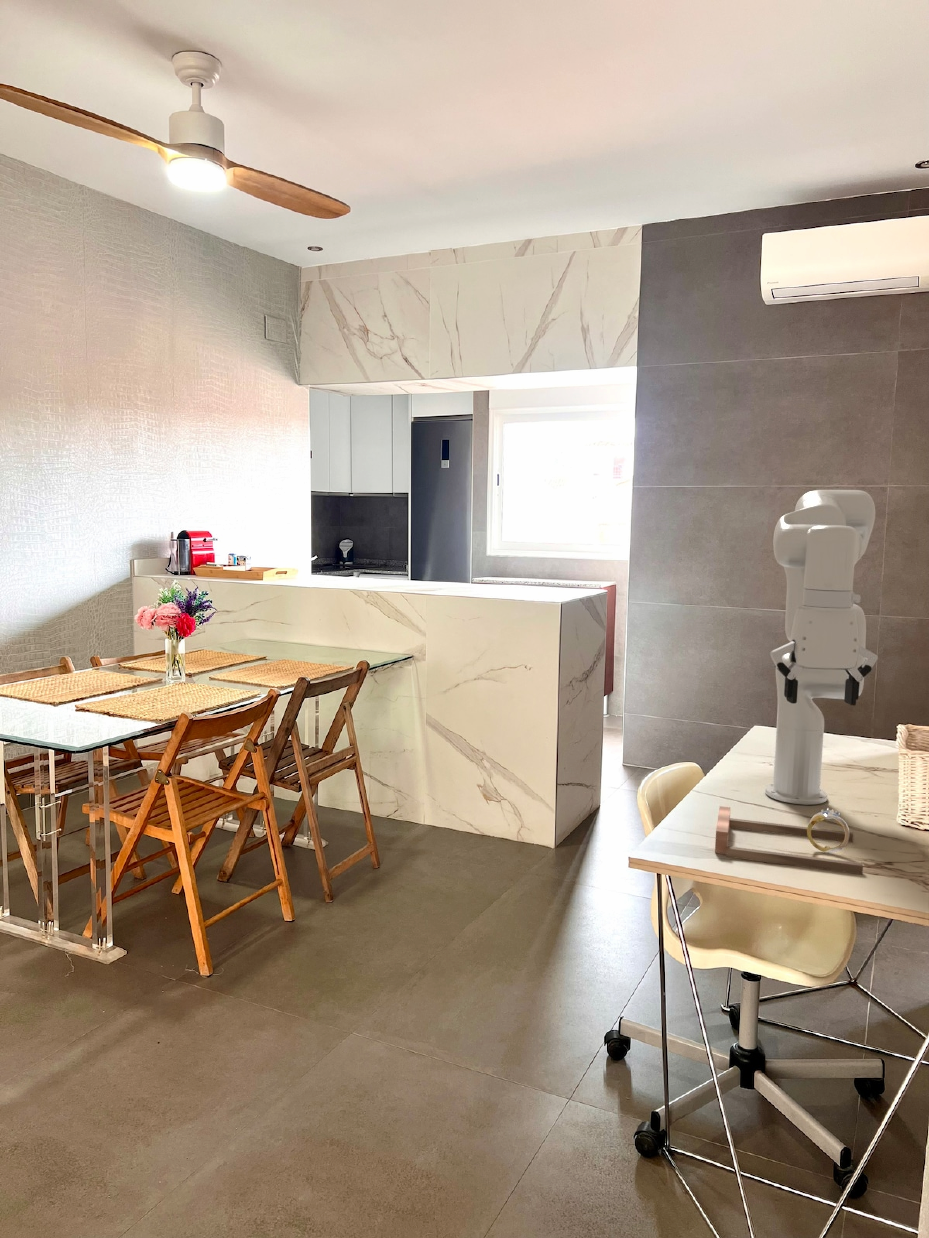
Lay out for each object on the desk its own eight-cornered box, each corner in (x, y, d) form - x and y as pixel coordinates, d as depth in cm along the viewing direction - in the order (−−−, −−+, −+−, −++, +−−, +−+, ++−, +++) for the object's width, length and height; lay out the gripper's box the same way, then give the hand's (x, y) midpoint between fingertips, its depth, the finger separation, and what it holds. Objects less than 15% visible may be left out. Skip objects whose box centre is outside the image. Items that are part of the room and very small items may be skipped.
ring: (848, 853, 159) (851, 810, 158) (847, 859, 156) (850, 815, 155) (806, 846, 162) (809, 803, 161) (805, 852, 159) (807, 808, 159)
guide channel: (718, 824, 173) (719, 804, 173) (852, 840, 166) (853, 819, 166) (714, 854, 157) (715, 832, 157) (862, 874, 150) (864, 851, 149)
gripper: (870, 600, 150) (863, 700, 152) (767, 597, 151) (761, 697, 152) (890, 604, 143) (882, 709, 144) (781, 601, 143) (775, 705, 145)
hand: (820, 702), depth 148 cm, fingers open, 9 cm apart
